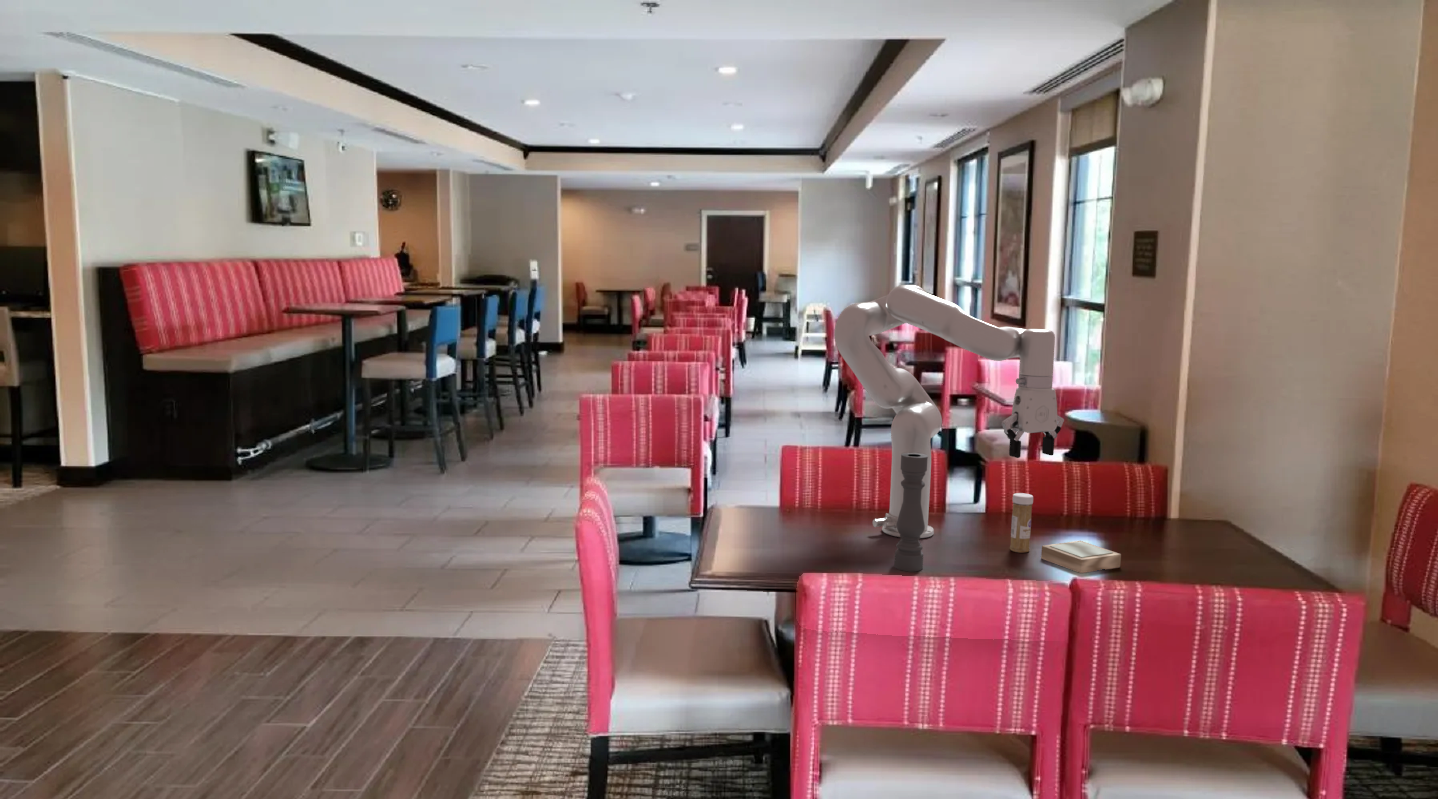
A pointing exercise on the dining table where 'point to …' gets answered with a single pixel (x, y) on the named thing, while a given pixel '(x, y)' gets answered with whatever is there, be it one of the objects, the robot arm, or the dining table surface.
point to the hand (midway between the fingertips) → (1031, 455)
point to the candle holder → (911, 513)
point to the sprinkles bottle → (1021, 522)
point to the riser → (1080, 556)
